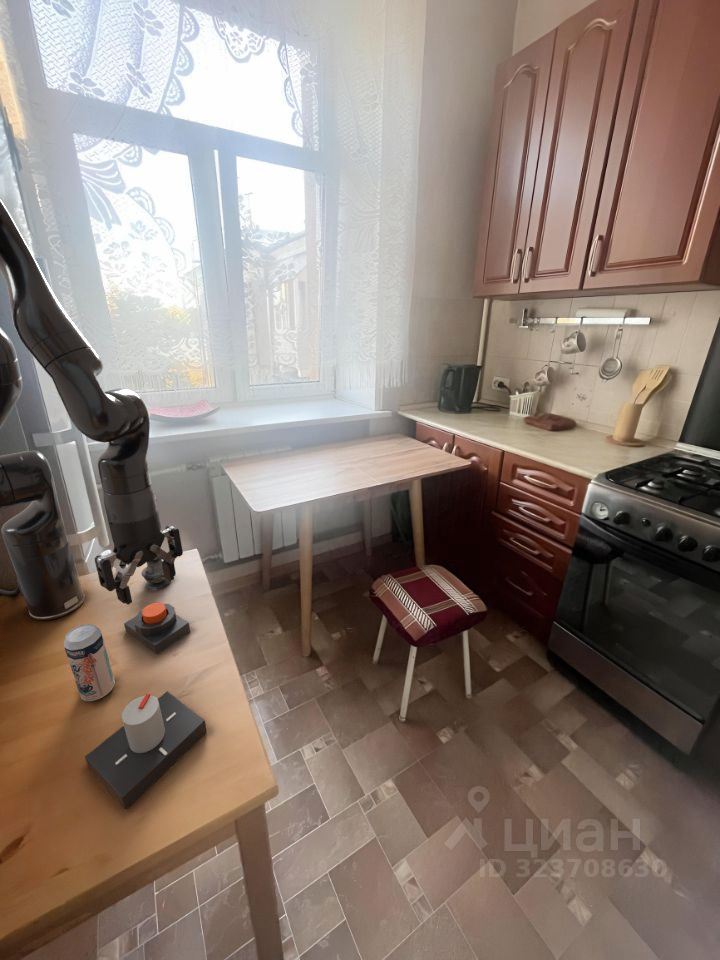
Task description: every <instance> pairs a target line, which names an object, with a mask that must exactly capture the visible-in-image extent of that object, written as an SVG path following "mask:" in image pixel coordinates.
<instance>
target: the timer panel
mask: <svg viewBox="0 0 720 960" xmlns="http://www.w3.org/2000/svg"><path fill="white" fill-rule="evenodd" d="M157 699H158V701H159V705H160V710H161V714H162V719H163V723H164V728H165V734H164V737H163V739H162V740H161V742H160V743H159V744H158V745H157V746H156V747H155V748H153V749H152V750H150V751H147V752H144V753H136V752H133V751H132V750H131V749H130V746H129V742H128V739H127V735H126V732H125V728H124V725H123V726H121V727H120V728H118V730H116V731H115V732H114V733H112V734H111V735H110V736H109V737H107V738H106V739H105V740H103V742H101V743H100V744H98V745H97V746H96V747H94V748H93V750H91V751H90V752H88V753H87V754H86V755H85V756H84V760H85V762H86V765H87V767H88V770H89V771H90V772H91V773H92V774H93V776H94V777H96V779H97V780H98V781H99V783H100V784H102V785H103V786H104V788H105V789H106V790H107V792H109V793H110V794H111V796H113V798H114V799H115V800H116V801H117V802H118V803H119V804H120V806H122V808H123V809H124V810H126V811H127V810H128V809H129V808H130V807H131V806H132V805H133V804H134V803H135V802H136V801H137V800H139V798H141V797H142V796H143V794H145V793H146V792H147V791H148V790H149V789H150V788H151V787H152V786H153V785H154V784H155V783H156V782H157V781H158V780H159V779H160V778H161V777H162V776H163V775H164V774H165V773H166V772H167V771H168V770H169V769H170V768H171V767H172V766H174V764H176V762H178V761H179V760H180V759H181V757H183V756H184V755H185V754H186V753H187V752H188V751H189V750H190V749H191V748H192V747H193V746H194V745H195V744H196V743H197V742H199V741H200V739H202V737H204V736H205V735H206V734H207V732H208V731H207V730H208V729H207V724H206V720H205V719H203V717H201V716H200V715H198V714H197V713H196V712H195V711H194V710H192V709H191V708H190V707H189V706H188V705H186V704H185V703H184V702H182V701H181V700H179V698H177V697H176V696H175V695H173V694H172V693H171V692H169V691H165V693H163V694H162V695H160V696H159V697H158V698H157Z"/></svg>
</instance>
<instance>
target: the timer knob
mask: <svg viewBox="0 0 720 960" xmlns="http://www.w3.org/2000/svg"><path fill="white" fill-rule="evenodd" d="M121 721H122V724H123V726H124V728H125V732H126V735H127V739H128V742H129V746H130V749H131V750H132V751H133V752H136V753H144V752H147V751H150V750H152V749H153V748H155V747H156V746H157V745H158V744H159V743H160V742H161V740H162V739H163V737H164V734H165V728H164V723H163V719H162V714H161V710H160V705H159V701H158V698H157V696H154V695H151V693H145V694H144V695H141V696H138V697H136V698H134V699H133V700H131V701H130V702H129V703H128V704H127V705H126V706H125V707H124V709H123V711H122V713H121Z"/></svg>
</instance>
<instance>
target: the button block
mask: <svg viewBox="0 0 720 960" xmlns="http://www.w3.org/2000/svg"><path fill="white" fill-rule="evenodd" d="M163 604H164V605H165V606H166V612H167V616H166V617H165V619H163V620H162V621H160V622H158V623H155V624H147V623H145V622H144V620H143V616H142V611H143V609H142V610H140V611H139V612H138V613H137V614H136V616H133V618H130V619H129V620H128V621H126V622H124V623H123V625H124V628H125V633H126V634H128V635H129V636H130V637H132V638H133V639H134V640H136V641H137V642H139V643H141V645H144V647H145V648H147V649H148V650H150V651H151V652H153V653H154V654H155V655H159V654H161V652H163V651H164V650H166V649H167V648H169V647H170V646H172V645H174V644H175V643H176V642H177V641H179V640H180V639H182V638H183V637H184V636H186V635H187V634H189V633H190V632H191V627H190V622H189V621H187V620H186V619H184V618H182V617H181V616H179V615H178V614H176V609H175V607H174V606H173V605H171V604H170V603H163Z"/></svg>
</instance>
